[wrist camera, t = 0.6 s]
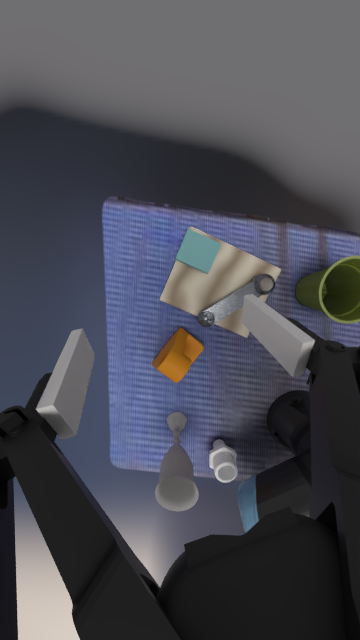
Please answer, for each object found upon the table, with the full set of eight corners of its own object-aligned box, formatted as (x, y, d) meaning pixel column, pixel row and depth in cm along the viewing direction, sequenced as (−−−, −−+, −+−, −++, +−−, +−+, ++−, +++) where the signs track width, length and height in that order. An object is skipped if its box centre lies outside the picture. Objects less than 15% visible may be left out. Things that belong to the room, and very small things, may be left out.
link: (263, 270, 43) (269, 269, 40) (272, 288, 43) (278, 288, 41) (193, 313, 44) (194, 314, 41) (203, 329, 44) (204, 331, 42)
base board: (277, 269, 44) (291, 267, 39) (244, 336, 47) (253, 342, 41) (190, 228, 43) (192, 219, 37) (160, 299, 45) (157, 300, 40)
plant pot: (344, 276, 45) (399, 271, 34) (319, 322, 46) (363, 333, 35) (299, 255, 44) (341, 244, 33) (275, 303, 46) (307, 308, 34)
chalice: (195, 415, 50) (205, 486, 32) (183, 436, 51) (187, 517, 33) (169, 404, 49) (165, 469, 31) (158, 426, 50) (148, 501, 32)
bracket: (176, 377, 48) (176, 406, 36) (153, 360, 47) (145, 384, 35) (203, 344, 47) (213, 362, 35) (180, 326, 46) (181, 338, 34)
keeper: (216, 249, 42) (221, 244, 37) (204, 275, 43) (208, 273, 38) (186, 235, 41) (188, 228, 37) (175, 261, 42) (175, 258, 37)
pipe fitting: (201, 441, 51) (205, 469, 43) (225, 429, 51) (234, 455, 43) (212, 459, 52) (218, 490, 44) (236, 447, 51) (247, 476, 44)
